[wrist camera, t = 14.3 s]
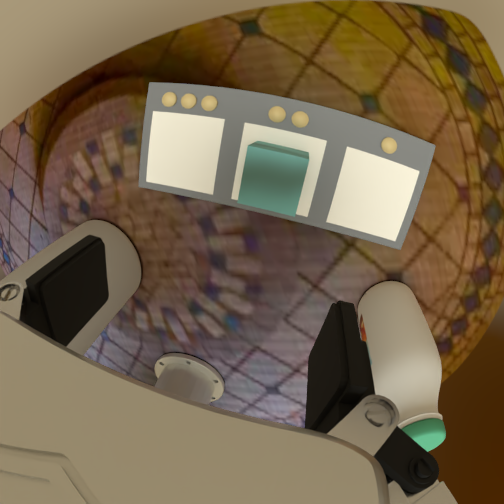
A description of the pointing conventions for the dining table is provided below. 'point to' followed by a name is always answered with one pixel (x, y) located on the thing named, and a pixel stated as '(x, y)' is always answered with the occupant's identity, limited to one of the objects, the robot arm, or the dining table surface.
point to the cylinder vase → (118, 274)
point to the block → (273, 177)
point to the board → (293, 136)
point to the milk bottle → (403, 359)
